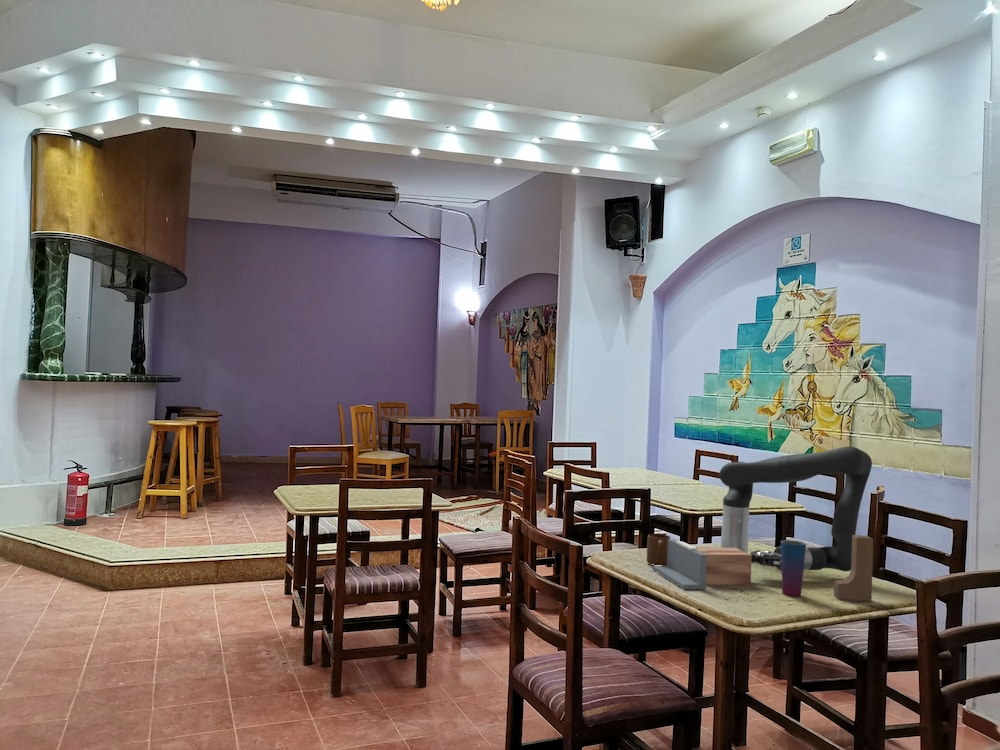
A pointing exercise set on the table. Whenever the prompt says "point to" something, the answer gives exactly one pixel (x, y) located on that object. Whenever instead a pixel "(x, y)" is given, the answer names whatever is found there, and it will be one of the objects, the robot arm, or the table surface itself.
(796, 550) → the cup
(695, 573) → the rail
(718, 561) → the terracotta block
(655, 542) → the mug
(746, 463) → the robot arm
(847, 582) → the wooden block
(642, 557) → the table surface
